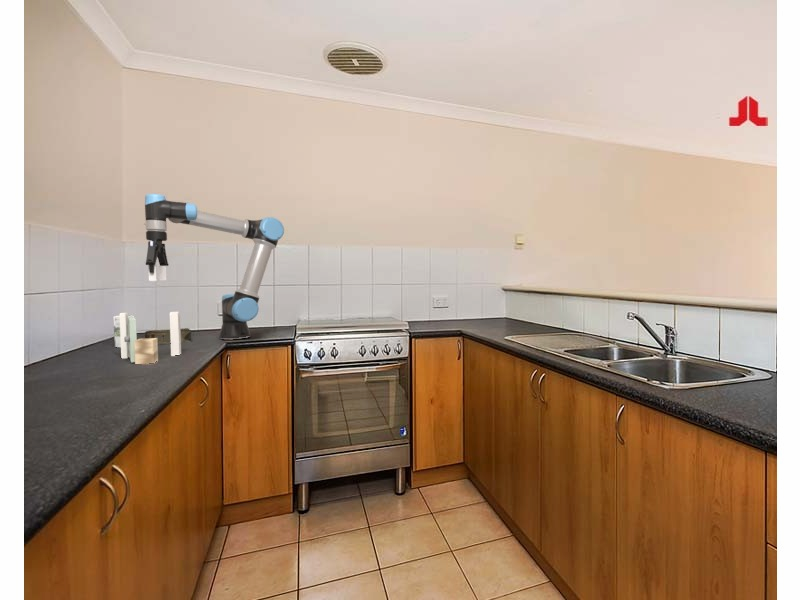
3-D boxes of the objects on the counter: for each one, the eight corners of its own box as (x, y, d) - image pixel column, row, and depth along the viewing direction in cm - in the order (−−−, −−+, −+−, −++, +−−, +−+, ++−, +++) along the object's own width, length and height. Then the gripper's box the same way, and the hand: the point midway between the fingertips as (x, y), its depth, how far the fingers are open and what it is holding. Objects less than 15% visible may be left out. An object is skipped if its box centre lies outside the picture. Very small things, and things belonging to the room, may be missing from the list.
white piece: (181, 354, 159) (179, 311, 157) (179, 355, 156) (177, 312, 155) (124, 356, 153) (122, 312, 152) (121, 358, 150) (119, 313, 149)
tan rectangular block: (158, 360, 147) (157, 338, 146) (153, 363, 142) (152, 340, 141) (140, 361, 145) (139, 338, 144) (135, 364, 140) (134, 340, 140)
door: (137, 361, 143) (135, 319, 142) (125, 363, 140) (124, 320, 139) (135, 355, 153) (133, 316, 152) (124, 356, 151) (122, 316, 150)
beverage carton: (192, 342, 187) (191, 329, 187) (145, 346, 176) (145, 332, 175) (189, 339, 193) (189, 327, 193) (144, 343, 182) (144, 330, 182)
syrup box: (136, 345, 176) (134, 314, 175) (125, 348, 170) (124, 316, 169) (124, 345, 176) (123, 314, 175) (114, 348, 170) (112, 316, 169)
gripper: (156, 233, 173) (157, 280, 174) (135, 227, 149) (137, 281, 151) (174, 234, 175) (176, 280, 177) (156, 228, 151) (158, 281, 153)
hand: (158, 280), depth 164 cm, fingers open, 13 cm apart
